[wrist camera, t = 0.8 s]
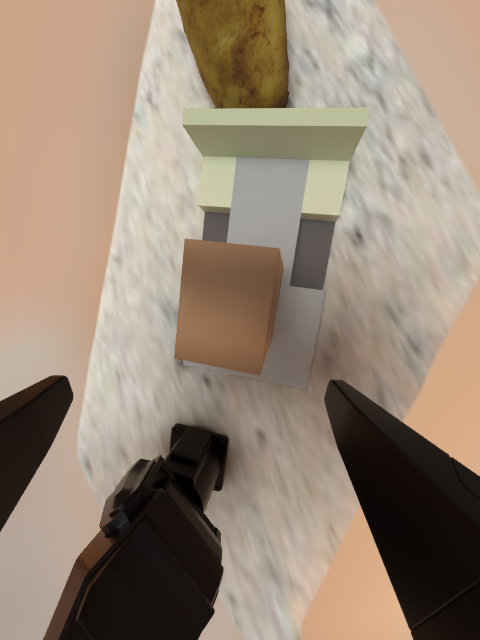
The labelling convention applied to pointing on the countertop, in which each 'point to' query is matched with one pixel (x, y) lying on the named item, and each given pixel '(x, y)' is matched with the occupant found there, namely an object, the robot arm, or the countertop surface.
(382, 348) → the countertop surface
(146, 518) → the robot arm
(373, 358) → the countertop surface
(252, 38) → the potato
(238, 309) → the walnut block
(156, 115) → the countertop surface
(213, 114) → the trap board
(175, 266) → the countertop surface
